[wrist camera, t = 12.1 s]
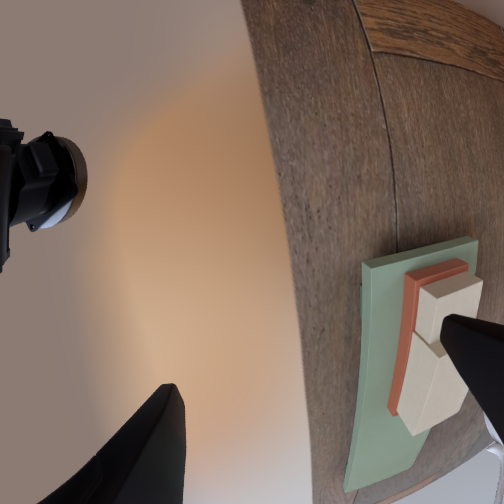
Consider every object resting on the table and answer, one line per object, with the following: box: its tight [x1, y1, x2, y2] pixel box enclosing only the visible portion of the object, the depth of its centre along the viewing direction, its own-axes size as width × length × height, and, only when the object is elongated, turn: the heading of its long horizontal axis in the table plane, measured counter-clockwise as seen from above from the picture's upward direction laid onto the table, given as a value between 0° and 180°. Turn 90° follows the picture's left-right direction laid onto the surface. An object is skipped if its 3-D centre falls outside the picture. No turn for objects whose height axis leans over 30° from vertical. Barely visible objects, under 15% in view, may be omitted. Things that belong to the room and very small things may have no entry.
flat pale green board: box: [343, 236, 478, 493], centre depth 24 cm, size 36×11×3 cm, turn 10°
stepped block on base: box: [387, 258, 483, 436], centre depth 17 cm, size 14×6×5 cm, turn 10°
